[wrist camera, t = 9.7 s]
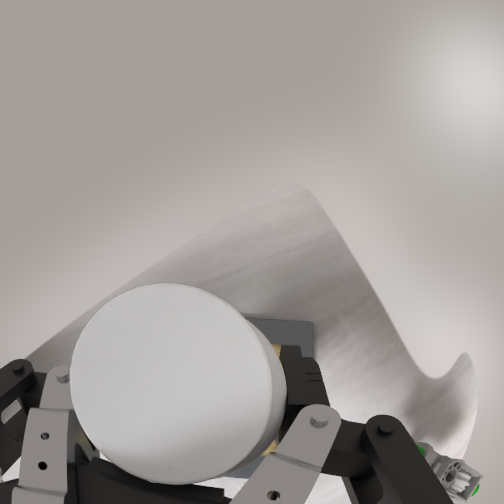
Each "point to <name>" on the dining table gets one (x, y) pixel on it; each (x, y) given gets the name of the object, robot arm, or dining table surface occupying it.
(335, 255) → the dining table surface
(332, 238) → the dining table surface
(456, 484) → the mechanical component
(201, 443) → the pill bottle
